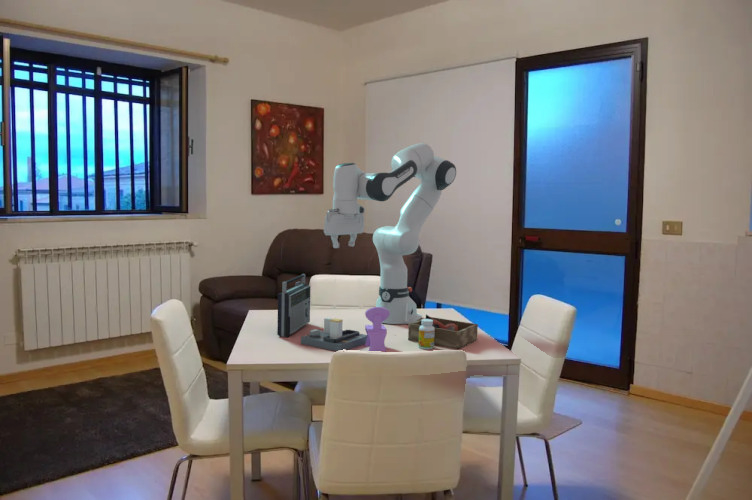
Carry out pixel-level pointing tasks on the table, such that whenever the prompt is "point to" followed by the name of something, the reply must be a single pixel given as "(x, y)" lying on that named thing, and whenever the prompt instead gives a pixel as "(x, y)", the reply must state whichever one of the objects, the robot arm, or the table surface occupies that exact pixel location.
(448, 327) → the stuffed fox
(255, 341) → the table surface
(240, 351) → the table surface
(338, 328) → the white cylinder
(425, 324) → the supplement bottle
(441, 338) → the wooden tray
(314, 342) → the console
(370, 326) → the toy chair
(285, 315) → the radio
